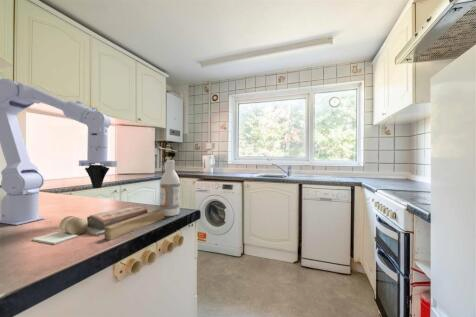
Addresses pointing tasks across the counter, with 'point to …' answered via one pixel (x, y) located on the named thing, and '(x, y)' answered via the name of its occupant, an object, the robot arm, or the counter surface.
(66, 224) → the roller
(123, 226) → the rail
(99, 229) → the packaged product
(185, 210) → the counter surface
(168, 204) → the bath foam
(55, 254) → the counter surface
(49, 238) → the felt mat
